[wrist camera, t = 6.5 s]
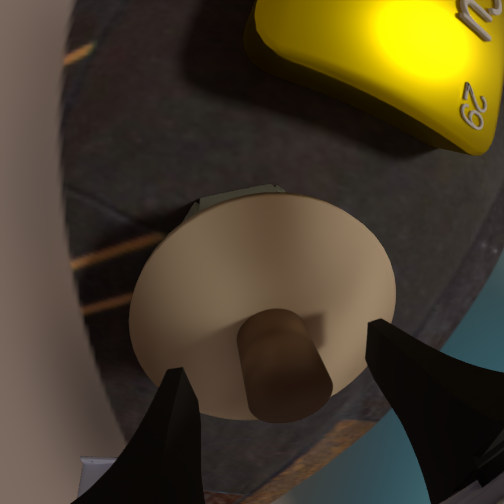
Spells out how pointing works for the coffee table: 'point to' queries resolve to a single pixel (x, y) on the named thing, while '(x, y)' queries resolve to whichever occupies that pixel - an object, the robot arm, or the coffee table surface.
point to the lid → (262, 305)
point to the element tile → (392, 61)
